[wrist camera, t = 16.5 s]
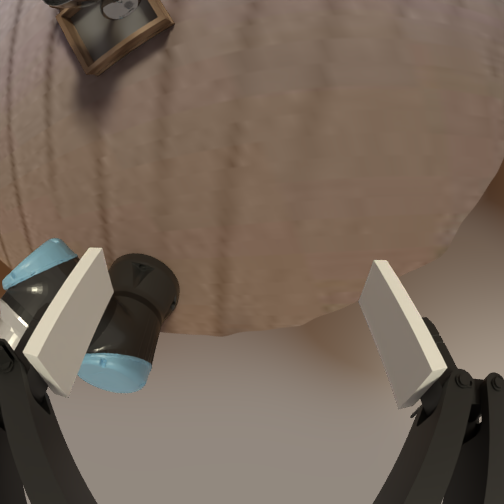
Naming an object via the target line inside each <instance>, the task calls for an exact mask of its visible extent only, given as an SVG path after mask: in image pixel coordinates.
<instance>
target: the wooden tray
mask: <svg viewBox="0 0 504 504" xmlns="http://www.w3.org/2000/svg"><path fill="white" fill-rule="evenodd" d="M100 3H101V0H99V1H98V2H96V3H94V4H92V5H90V6H87V7H83V8H59V7H54V6H50V5H49V6H50V7H52V8H56V9H59V10H60V13H59V14H58V15H57V16H56V19H57V21H58V23H59V25H60V27H61V29H62V31H63V32H64V34H65V36H66V38H67V40H68V42H69V44H70V46H71V48H72V50H73V51H74V53H75V55H76V57H77V59H78V61H79V62H80V64H81V66H82V68H83V70H84V71H85V73H86V75H90V74H95V76H99V75H100V74H101V73H103V72H104V71H105V70H106V69H108V68H109V67H110V66H112V65H113V64H114V63H115V62H117V61H118V60H120V59H121V58H122V57H124V56H125V55H126V54H128V53H129V52H131V51H132V50H134V49H135V48H137V47H138V46H139V45H141V44H143V43H144V42H146V41H147V40H149V39H150V38H152V37H153V36H155V35H157V34H158V33H160V32H162V31H163V30H165V29H167V28H168V27H170V26H172V25H174V24H175V23H174V21H173V20H172V18H171V17H170V15H169V13H168V12H167V10H166V9H165V7H164V6H163V4H162V2H161V1H160V0H141V3H140V4H139V6H138V7H137V8H136V10H135V11H133V12H132V13H131V14H130V15H128V16H126V17H124V18H122V19H118V20H109V19H106V18H105V17H103V16H102V14H101V12H100Z"/></svg>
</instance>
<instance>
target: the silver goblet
mask: <svg viewBox="0 0 504 504" xmlns="http://www.w3.org/2000/svg"><path fill="white" fill-rule="evenodd" d="M43 1H44V3H46V4H48V5H50V6H54V7H59V8H83V7H87V6H90V5H92V4H94V3H96V2H98V1H99V0H43ZM140 3H141V0H101V3H100V12H101V14H102V16H103V17H105V18H106V19H109V20H118V19H122V18H124V17H126V16H128V15H130V14H131V13H132V12H133V11H135V10H136V8H137V7H138V6H139V4H140Z"/></svg>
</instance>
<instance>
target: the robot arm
mask: <svg viewBox="0 0 504 504" xmlns="http://www.w3.org/2000/svg"><path fill="white" fill-rule="evenodd" d="M2 285H3V288H4V290H7V291H6V293H5V294H4V295H3V297H2V298H1V299H0V310H1V315H0V504H27V502H26V497H25V493H24V488H25V491H26V493H27V495H28V498H29V500H30V502H31V504H97V502H96V501H95V499H94V497H93V496H92V494H91V492H90V490H89V489H88V487H87V485H86V483H85V481H84V479H83V478H82V476H81V474H80V472H79V470H78V468H77V466H76V464H75V462H74V460H73V457H72V455H71V453H70V451H69V449H68V447H67V444H66V442H65V439H64V437H63V435H62V432H61V430H60V427H59V424H58V422H57V419H56V416H55V413H54V411H53V408H52V405H51V402H50V399H49V396H48V394H47V393H46V390H47V387H49V388H50V389H51V390H52V391H53V392H54V393H55V394H58V395H61V396H64V397H67V398H69V396H70V393H71V390H72V387H73V384H74V382H75V379H76V377H77V375H78V376H79V377H80V378H81V379H83V380H84V381H85V382H87V383H89V384H91V385H93V386H95V387H98V388H100V389H103V390H106V391H111V392H116V393H132V392H136V391H138V390H140V389H142V388H143V387H144V386H145V384H146V381H147V378H148V375H149V372H150V371H151V369H152V361H153V357H154V353H155V349H156V345H157V341H158V337H159V333H160V329H161V325H162V323H163V322H164V321H165V320H166V318H167V317H168V316H169V315H170V313H171V312H172V311H173V310H174V308H175V306H176V304H177V301H178V297H179V284H178V281H177V278H176V277H175V275H174V274H173V272H172V271H171V270H170V269H169V268H168V267H167V266H166V265H165V264H164V263H162V262H161V261H159V260H157V259H155V258H153V257H151V256H148V255H144V254H127V255H124V256H121V257H119V258H118V259H117V260H115V261H114V263H113V264H112V266H111V267H110V269H109V271H108V269H107V265H106V261H105V257H104V253H103V249H102V248H90V247H89V249H88V250H87V251H86V253H85V254H84V255H83V257H82V258H81V259H79V258H78V255H77V254H75V253H74V252H73V251H72V250H71V249H70V248H69V247H68V246H67V245H66V244H65V243H64V242H63V241H62V240H61V239H59V238H52V239H49V240H48V241H46V242H45V243H44V244H42V245H41V246H40V247H38V248H37V249H36V250H35V251H34V252H32V253H31V254H30V255H29V256H28V257H27V258H25V259H24V260H23V261H22V262H21V263H20V264H19V265H18V266H17V267H16V268H15V269H14V270H13V271H12V272H11V273H10V274H8V275H7V276H6V277H5V278H4V280H3V281H2ZM359 304H360V307H361V309H362V311H363V314H364V316H365V319H366V321H367V324H368V326H369V329H370V331H371V334H372V336H373V339H374V341H375V344H376V347H377V349H378V352H379V355H380V357H381V360H382V363H383V365H384V368H385V371H386V374H387V377H388V379H389V382H390V385H391V388H392V391H393V394H394V397H395V400H396V403H397V406H398V409H402V408H406V407H410V406H413V405H414V404H415V403H416V402H417V401H418V400H419V399H421V402H422V405H421V406H420V407H419V408H418V409H417V410H416V411H415V412H414V413H413V414H412V415H411V418H413V417H414V416H415V415H416V414H417V415H416V417H415V420H414V422H413V425H412V427H411V430H410V432H409V435H408V437H407V439H406V442H405V444H404V446H403V448H402V450H401V452H400V455H399V457H398V459H397V461H396V463H395V465H394V467H393V469H392V471H391V473H390V474H389V476H388V478H387V480H386V482H385V484H384V485H383V487H382V489H381V491H380V493H379V494H378V496H377V497H376V499H375V501H374V502H373V504H441V502H442V499H443V497H444V499H443V503H442V504H504V379H503V378H502V376H500V375H499V374H497V373H490V374H489V375H488V376H487V377H486V378H485V379H484V380H480V379H473V378H472V377H471V375H470V374H469V373H468V372H466V371H465V370H462V369H458V368H457V367H456V365H455V363H454V361H453V359H452V357H451V355H450V353H449V351H448V349H447V347H446V345H445V343H443V340H442V338H441V336H439V332H438V331H437V329H436V327H435V326H434V324H433V323H432V322H431V321H430V320H429V319H428V318H427V317H425V318H421V316H420V314H419V312H418V311H417V309H416V307H415V306H414V304H413V302H412V300H411V299H410V297H409V295H408V294H407V292H406V290H405V289H404V287H403V285H402V284H401V282H400V281H399V279H398V277H397V276H396V274H395V273H394V271H393V269H392V268H391V266H390V265H389V263H388V262H387V260H373V263H372V266H371V269H370V272H369V275H368V278H367V280H366V283H365V286H364V288H363V291H362V294H361V296H360V299H359ZM481 416H482V422H481V423H479V417H481ZM23 486H24V488H23Z"/></svg>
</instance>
